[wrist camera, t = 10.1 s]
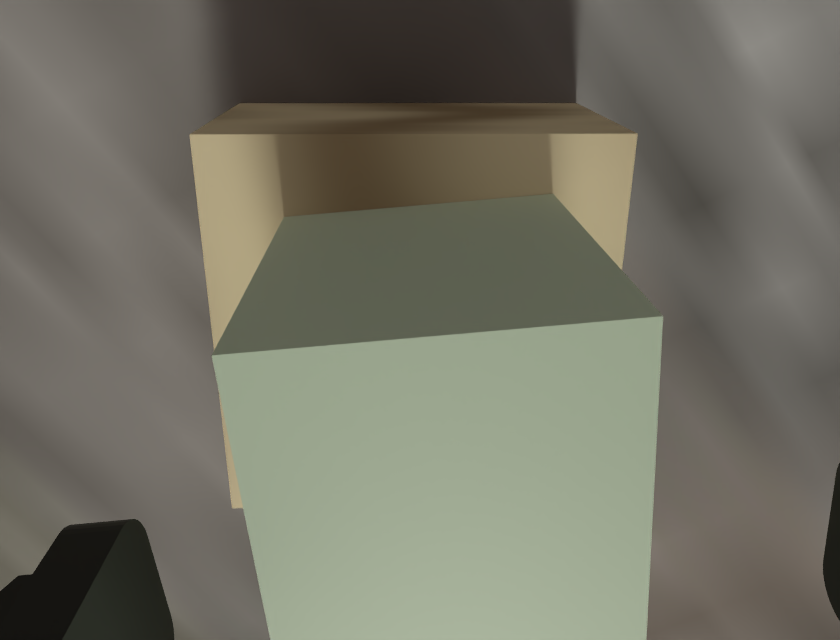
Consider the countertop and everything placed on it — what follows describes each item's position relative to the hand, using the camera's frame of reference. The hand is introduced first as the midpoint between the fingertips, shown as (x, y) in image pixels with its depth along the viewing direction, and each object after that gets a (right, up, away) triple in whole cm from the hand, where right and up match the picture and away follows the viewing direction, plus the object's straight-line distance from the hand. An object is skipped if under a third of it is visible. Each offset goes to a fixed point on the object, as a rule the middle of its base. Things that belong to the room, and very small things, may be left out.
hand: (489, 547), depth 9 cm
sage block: (-1, +2, +6) cm, 7 cm away
